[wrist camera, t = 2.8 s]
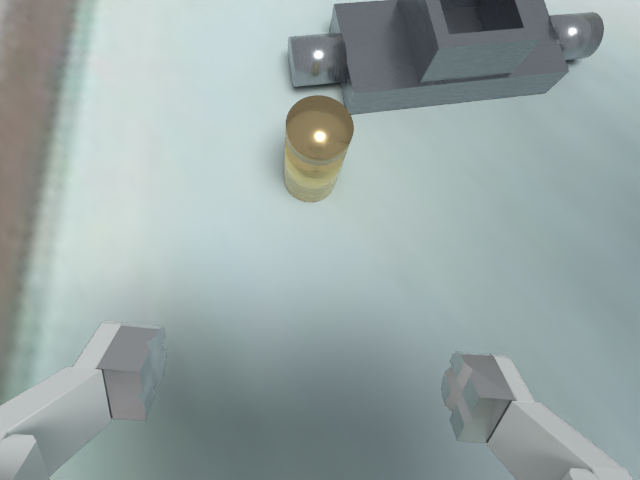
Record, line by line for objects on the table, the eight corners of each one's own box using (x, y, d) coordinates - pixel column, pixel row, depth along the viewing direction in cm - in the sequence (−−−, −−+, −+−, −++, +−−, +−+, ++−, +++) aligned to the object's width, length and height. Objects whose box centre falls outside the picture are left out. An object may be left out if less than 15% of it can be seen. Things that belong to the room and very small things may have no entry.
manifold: (558, 13, 38) (619, -58, 31) (585, 88, 36) (656, 31, 29) (283, 35, 34) (284, -39, 28) (299, 120, 33) (304, 63, 26)
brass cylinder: (330, 151, 32) (346, 92, 24) (339, 198, 31) (359, 152, 24) (280, 157, 32) (280, 99, 24) (288, 205, 31) (291, 161, 23)
